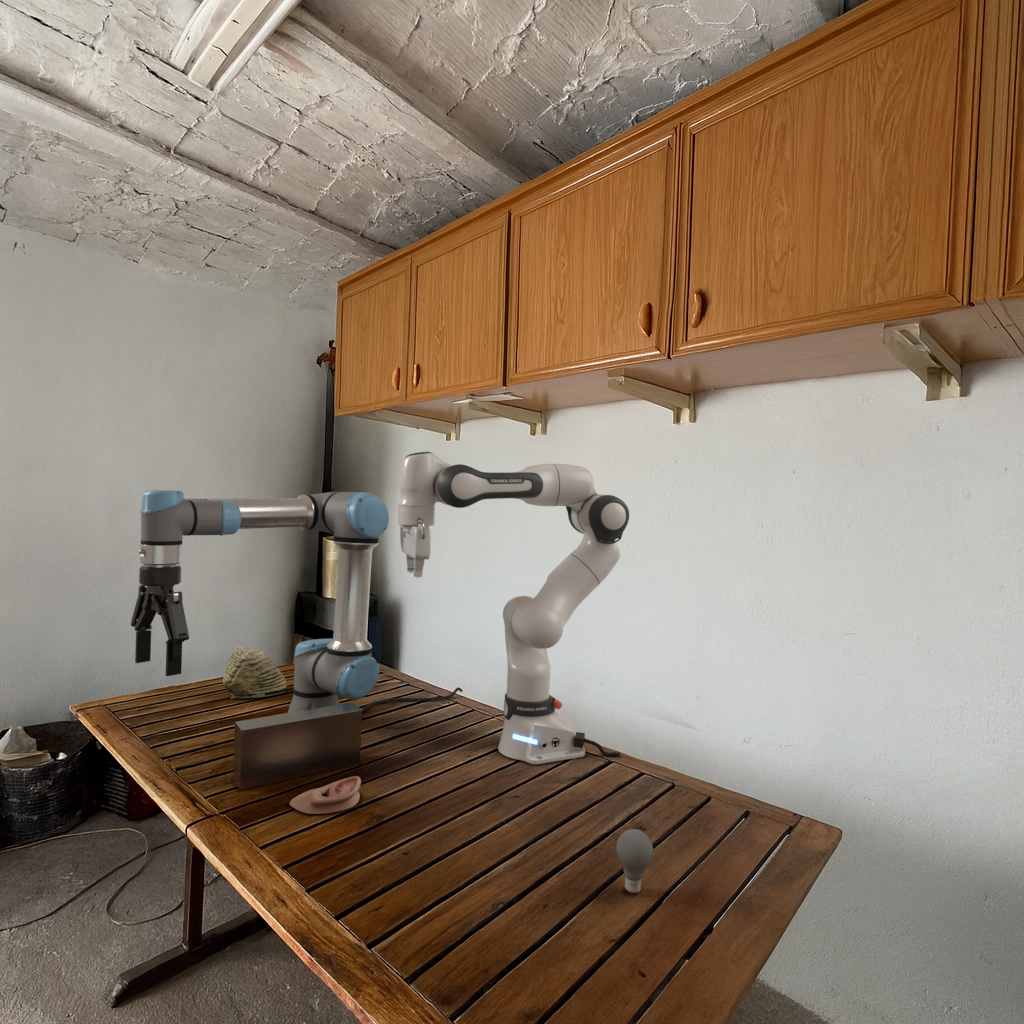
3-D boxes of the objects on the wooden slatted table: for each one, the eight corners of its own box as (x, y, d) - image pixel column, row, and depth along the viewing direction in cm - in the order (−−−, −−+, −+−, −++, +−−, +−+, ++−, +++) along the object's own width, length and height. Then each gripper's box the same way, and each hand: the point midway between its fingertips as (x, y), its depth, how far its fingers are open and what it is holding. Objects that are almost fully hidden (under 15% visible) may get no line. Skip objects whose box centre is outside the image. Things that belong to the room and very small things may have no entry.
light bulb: (610, 879, 108) (613, 822, 108) (644, 879, 109) (647, 822, 109) (619, 902, 102) (622, 840, 102) (655, 901, 103) (658, 840, 103)
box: (239, 790, 135) (241, 730, 135) (233, 779, 140) (235, 721, 140) (360, 763, 151) (362, 709, 151) (350, 754, 156) (352, 702, 156)
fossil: (218, 695, 195) (220, 647, 195) (278, 685, 208) (279, 640, 207) (228, 703, 189) (230, 653, 188) (289, 692, 201) (290, 645, 201)
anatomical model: (281, 790, 127) (311, 767, 138) (281, 810, 127) (310, 785, 138) (342, 799, 124) (367, 775, 136) (342, 819, 124) (367, 793, 136)
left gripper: (114, 560, 134) (112, 659, 135) (170, 572, 119) (167, 684, 120) (152, 558, 140) (149, 653, 141) (210, 570, 125) (206, 676, 126)
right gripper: (438, 520, 146) (435, 580, 146) (421, 516, 165) (419, 569, 165) (410, 519, 144) (408, 580, 144) (397, 516, 163) (395, 569, 163)
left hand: (157, 668), depth 130 cm, fingers open, 13 cm apart
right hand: (414, 574), depth 155 cm, fingers open, 8 cm apart
